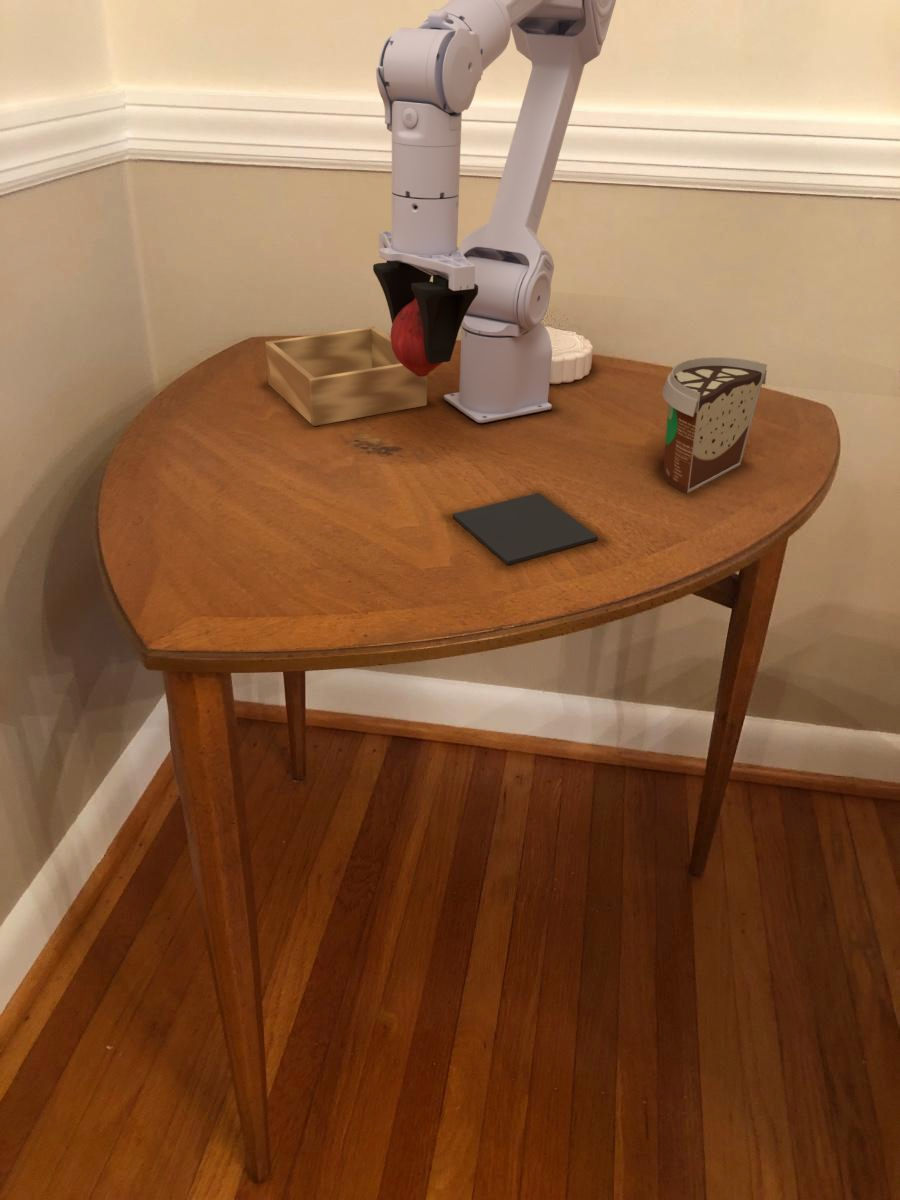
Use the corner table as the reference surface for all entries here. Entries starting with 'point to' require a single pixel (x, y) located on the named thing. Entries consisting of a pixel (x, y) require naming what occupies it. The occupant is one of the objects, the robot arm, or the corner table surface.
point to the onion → (410, 340)
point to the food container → (708, 417)
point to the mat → (524, 528)
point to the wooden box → (342, 376)
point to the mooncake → (569, 356)
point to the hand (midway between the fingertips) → (422, 351)
